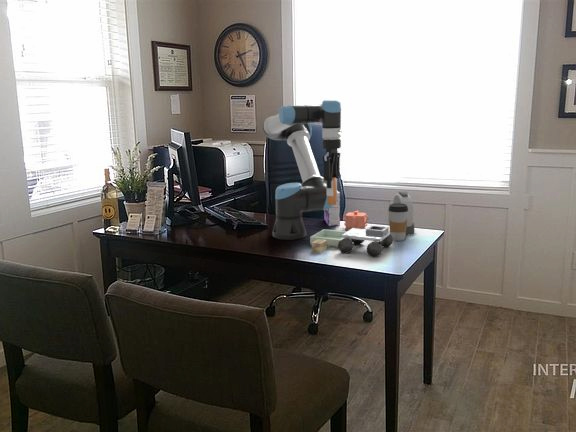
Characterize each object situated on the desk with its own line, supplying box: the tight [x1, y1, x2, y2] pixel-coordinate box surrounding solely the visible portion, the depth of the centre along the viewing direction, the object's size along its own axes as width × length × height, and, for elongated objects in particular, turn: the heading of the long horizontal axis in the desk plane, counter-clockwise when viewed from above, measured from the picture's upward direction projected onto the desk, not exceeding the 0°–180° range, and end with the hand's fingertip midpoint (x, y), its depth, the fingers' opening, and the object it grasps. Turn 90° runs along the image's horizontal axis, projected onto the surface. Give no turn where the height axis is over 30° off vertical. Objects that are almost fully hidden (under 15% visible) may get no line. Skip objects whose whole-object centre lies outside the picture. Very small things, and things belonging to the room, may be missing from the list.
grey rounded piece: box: [392, 191, 415, 236], centre depth 248 cm, size 16×10×18 cm, turn 4°
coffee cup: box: [388, 203, 408, 242], centre depth 235 cm, size 8×8×15 cm
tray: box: [309, 228, 351, 249], centre depth 234 cm, size 14×14×4 cm
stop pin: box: [328, 177, 336, 205], centre depth 229 cm, size 4×4×11 cm
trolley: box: [337, 224, 394, 258], centre depth 221 cm, size 18×16×9 cm
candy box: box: [323, 189, 341, 227], centre depth 267 cm, size 14×6×16 cm, turn 5°
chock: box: [311, 239, 328, 254], centre depth 222 cm, size 4×6×4 cm, turn 153°
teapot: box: [342, 210, 369, 231], centre depth 255 cm, size 12×15×8 cm
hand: (331, 194), depth 229 cm, fingers closed on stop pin, 3 cm apart
